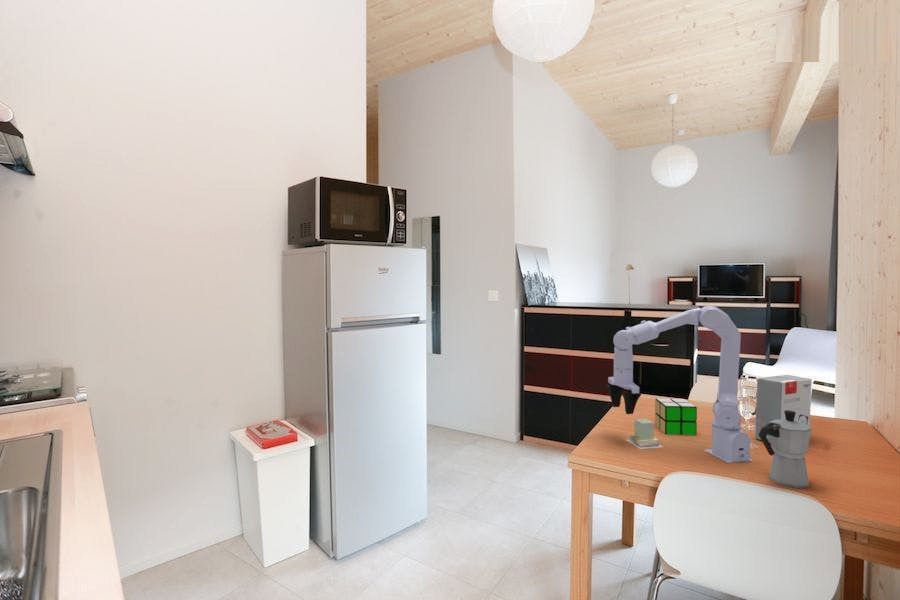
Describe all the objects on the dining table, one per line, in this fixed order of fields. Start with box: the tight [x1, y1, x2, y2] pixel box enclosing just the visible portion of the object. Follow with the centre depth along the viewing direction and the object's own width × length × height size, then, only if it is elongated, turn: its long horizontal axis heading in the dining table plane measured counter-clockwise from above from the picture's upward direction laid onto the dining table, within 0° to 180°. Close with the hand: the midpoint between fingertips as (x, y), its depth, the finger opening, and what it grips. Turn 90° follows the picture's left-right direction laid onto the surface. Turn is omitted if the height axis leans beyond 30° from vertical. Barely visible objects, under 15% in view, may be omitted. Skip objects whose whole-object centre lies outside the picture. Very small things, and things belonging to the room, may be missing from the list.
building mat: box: [625, 438, 664, 450], centre depth 139 cm, size 14×16×1 cm
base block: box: [629, 433, 660, 447], centre depth 139 cm, size 6×6×2 cm
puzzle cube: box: [654, 398, 698, 436], centre depth 151 cm, size 10×10×10 cm
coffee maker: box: [759, 410, 813, 489], centre depth 113 cm, size 15×9×18 cm, turn 99°
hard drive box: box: [754, 374, 813, 445], centre depth 142 cm, size 16×8×20 cm, turn 112°
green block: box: [633, 418, 655, 440], centre depth 139 cm, size 4×4×5 cm
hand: (622, 410), depth 142 cm, fingers open, 7 cm apart
